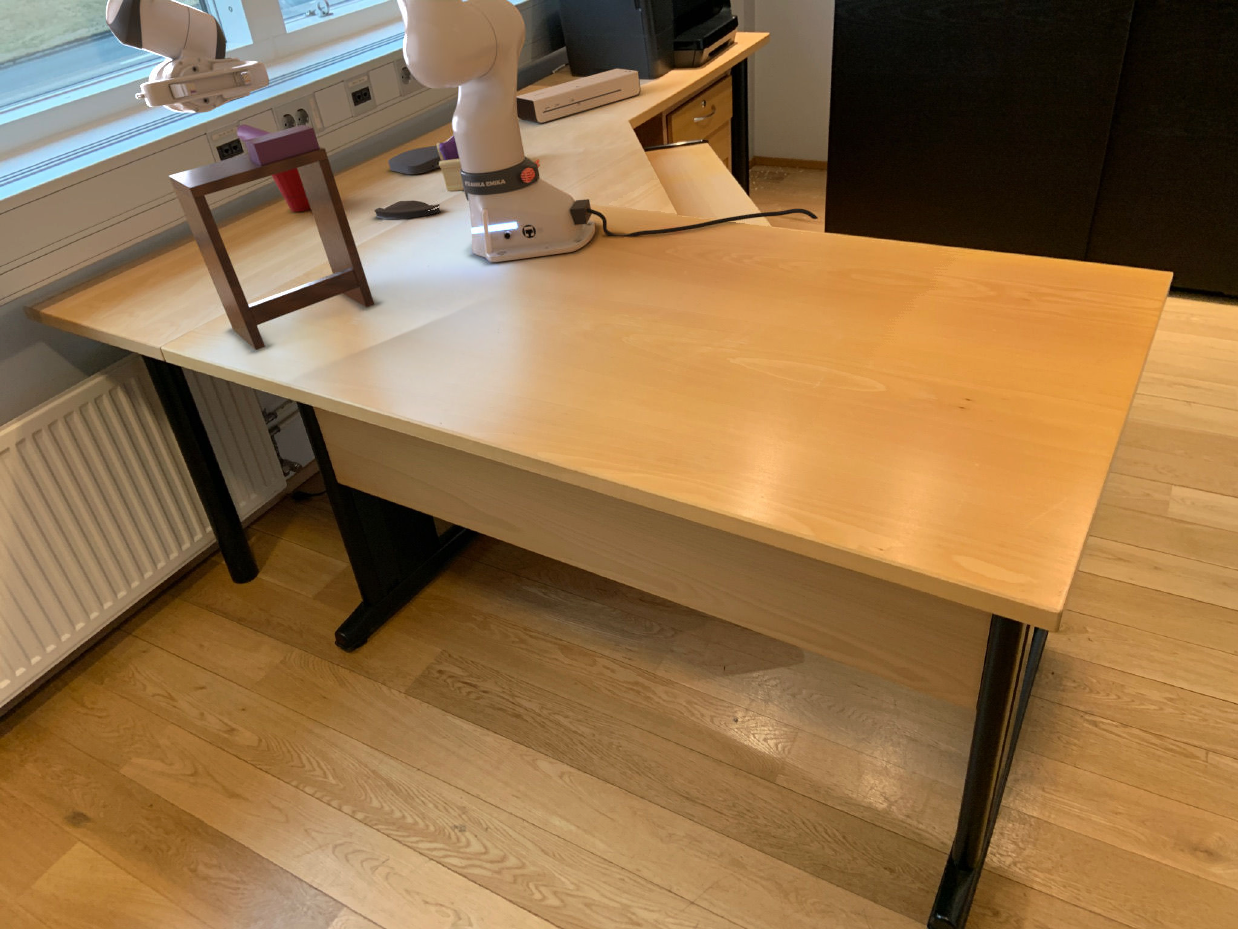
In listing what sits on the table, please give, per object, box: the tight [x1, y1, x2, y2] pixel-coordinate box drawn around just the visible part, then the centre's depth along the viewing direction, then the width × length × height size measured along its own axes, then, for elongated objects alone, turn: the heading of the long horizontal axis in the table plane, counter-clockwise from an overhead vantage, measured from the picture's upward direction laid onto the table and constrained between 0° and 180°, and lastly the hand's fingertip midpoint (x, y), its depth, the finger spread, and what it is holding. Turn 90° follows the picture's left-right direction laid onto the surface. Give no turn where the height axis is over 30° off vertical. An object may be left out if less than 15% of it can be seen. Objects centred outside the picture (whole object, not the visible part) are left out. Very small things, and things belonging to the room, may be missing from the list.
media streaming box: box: [387, 145, 441, 175], centre depth 217 cm, size 15×15×3 cm
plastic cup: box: [270, 168, 311, 213], centre depth 197 cm, size 11×11×12 cm
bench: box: [168, 146, 375, 351], centre depth 138 cm, size 20×12×25 cm, turn 127°
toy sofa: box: [436, 134, 464, 192], centre depth 199 cm, size 21×9×10 cm, turn 169°
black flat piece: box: [373, 200, 441, 220], centre depth 184 cm, size 8×14×2 cm, turn 57°
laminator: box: [516, 67, 642, 125], centre depth 246 cm, size 34×12×6 cm, turn 124°
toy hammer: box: [236, 124, 321, 166], centre depth 136 cm, size 20×9×3 cm, turn 37°
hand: (220, 83), depth 145 cm, fingers open, 8 cm apart
